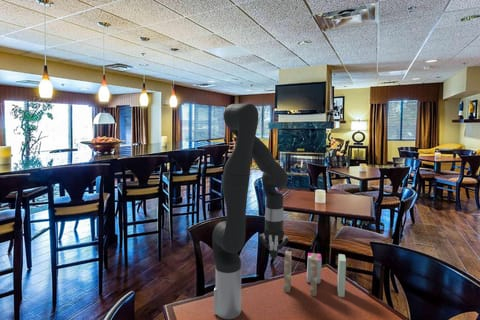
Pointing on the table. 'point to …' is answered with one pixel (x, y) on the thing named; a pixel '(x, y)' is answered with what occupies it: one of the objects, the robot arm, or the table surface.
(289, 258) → the tan flat rectangular block
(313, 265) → the tile
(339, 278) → the tile
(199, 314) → the table surface
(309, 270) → the supplement box
